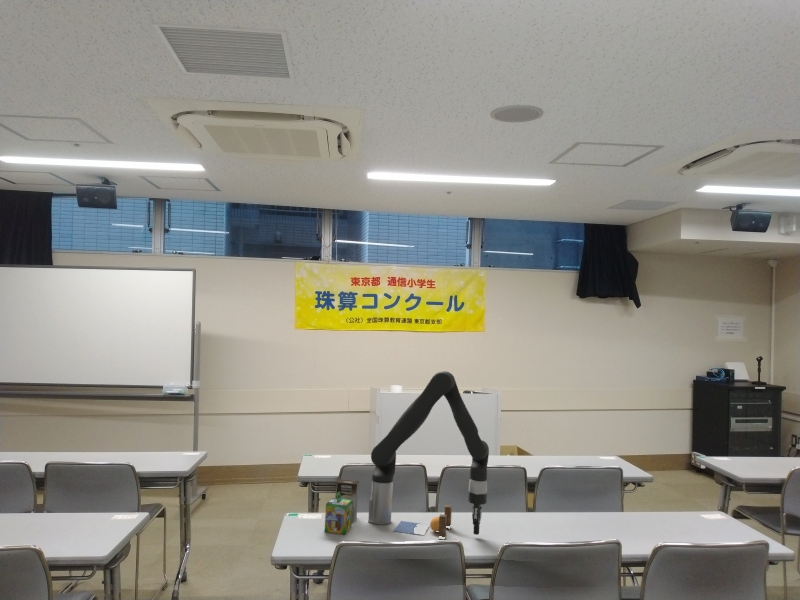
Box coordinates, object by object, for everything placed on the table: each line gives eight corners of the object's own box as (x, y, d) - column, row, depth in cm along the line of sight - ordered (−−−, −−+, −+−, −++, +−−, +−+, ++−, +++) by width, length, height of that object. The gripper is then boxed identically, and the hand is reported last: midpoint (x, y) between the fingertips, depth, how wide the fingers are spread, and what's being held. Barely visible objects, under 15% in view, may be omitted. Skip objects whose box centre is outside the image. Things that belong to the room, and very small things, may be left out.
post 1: (438, 539, 205) (439, 516, 206) (439, 537, 208) (440, 514, 208) (444, 540, 204) (445, 517, 205) (445, 537, 207) (446, 515, 208)
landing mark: (393, 531, 211) (393, 530, 211) (401, 521, 224) (401, 520, 224) (423, 535, 208) (424, 535, 208) (430, 525, 220) (430, 525, 220)
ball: (427, 532, 211) (430, 517, 211) (430, 527, 217) (433, 513, 217) (441, 536, 209) (444, 522, 210) (444, 531, 215) (447, 517, 215)
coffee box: (333, 520, 221) (336, 482, 222) (337, 515, 227) (339, 478, 229) (354, 522, 220) (356, 483, 221) (357, 517, 226) (359, 480, 228)
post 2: (443, 528, 218) (444, 506, 218) (444, 526, 220) (445, 505, 221) (449, 529, 217) (450, 507, 218) (450, 527, 219) (451, 505, 220)
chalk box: (345, 535, 204) (347, 497, 206) (323, 532, 206) (326, 495, 207) (352, 527, 213) (354, 491, 215) (331, 525, 215) (333, 489, 216)
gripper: (470, 485, 218) (469, 527, 216) (466, 493, 205) (465, 538, 204) (488, 487, 216) (486, 529, 214) (485, 495, 203) (483, 541, 202)
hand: (476, 533), depth 209 cm, fingers closed
